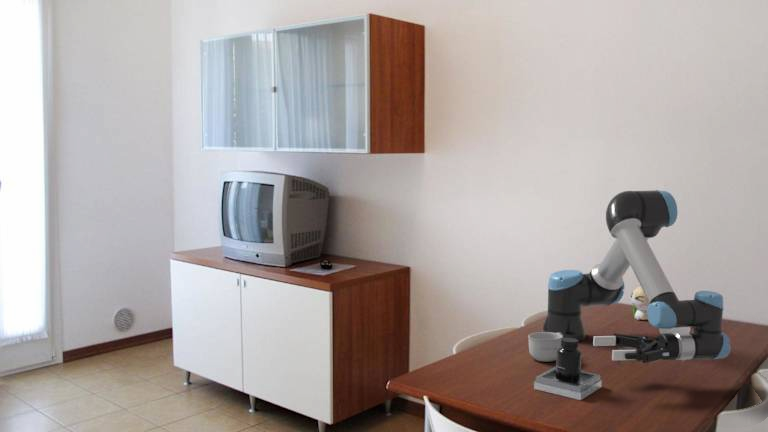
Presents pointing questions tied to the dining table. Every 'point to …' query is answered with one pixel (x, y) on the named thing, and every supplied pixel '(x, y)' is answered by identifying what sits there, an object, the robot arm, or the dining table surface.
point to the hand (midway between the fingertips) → (602, 348)
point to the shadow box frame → (568, 384)
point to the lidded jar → (675, 330)
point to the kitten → (640, 304)
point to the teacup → (544, 345)
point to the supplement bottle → (568, 361)
